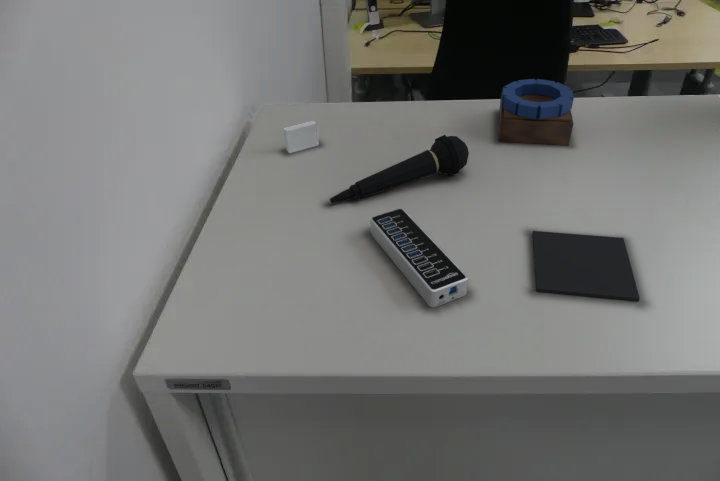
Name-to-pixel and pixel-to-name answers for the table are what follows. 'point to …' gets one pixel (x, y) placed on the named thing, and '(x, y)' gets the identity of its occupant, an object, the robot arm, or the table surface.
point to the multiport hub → (418, 258)
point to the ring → (537, 109)
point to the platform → (534, 126)
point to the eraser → (301, 136)
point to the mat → (583, 266)
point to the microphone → (412, 169)
